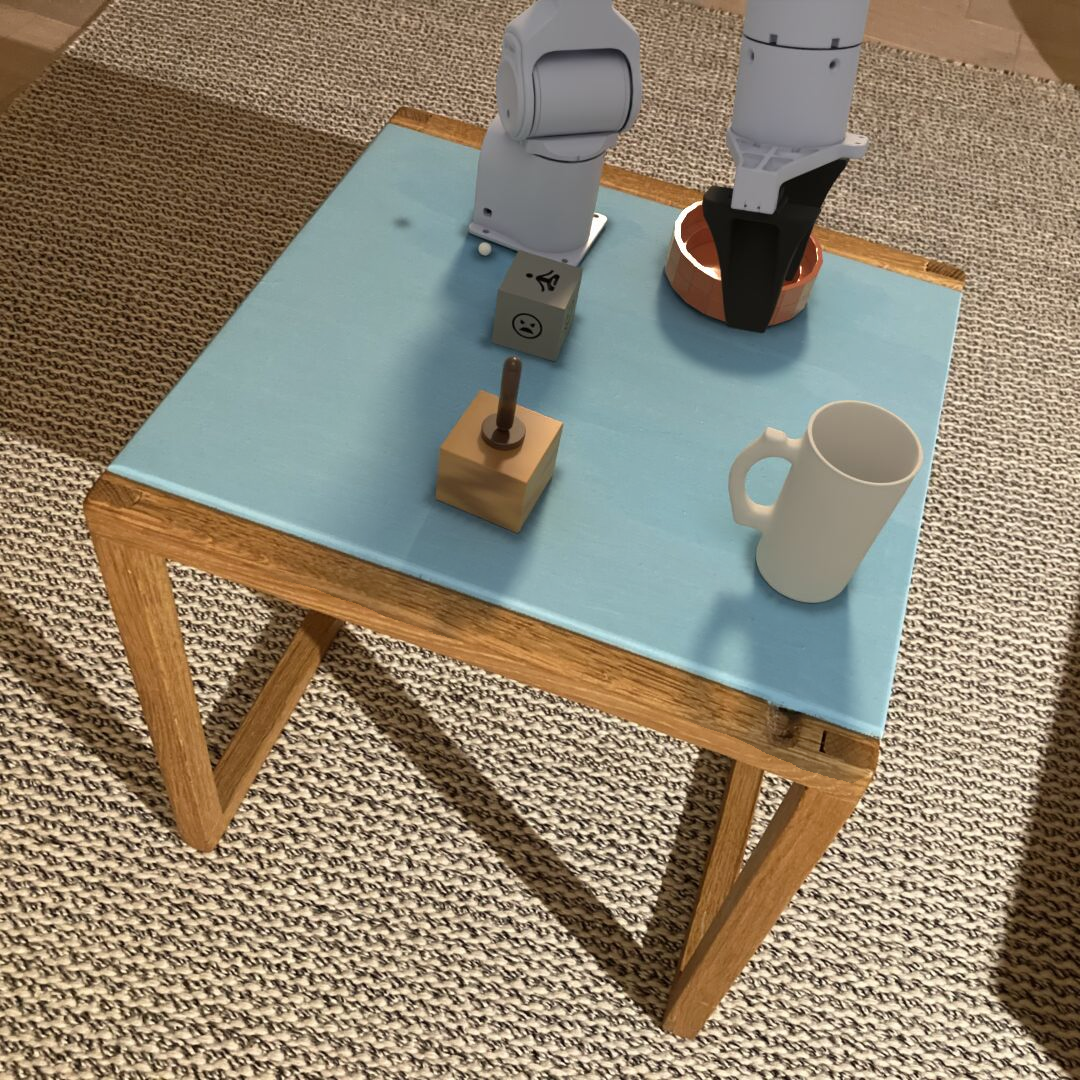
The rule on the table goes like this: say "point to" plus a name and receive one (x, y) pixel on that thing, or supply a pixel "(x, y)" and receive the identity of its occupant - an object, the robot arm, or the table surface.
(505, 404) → the brown peg
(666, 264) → the bowl
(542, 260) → the dice cube
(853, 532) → the mug
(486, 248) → the sphere
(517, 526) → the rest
